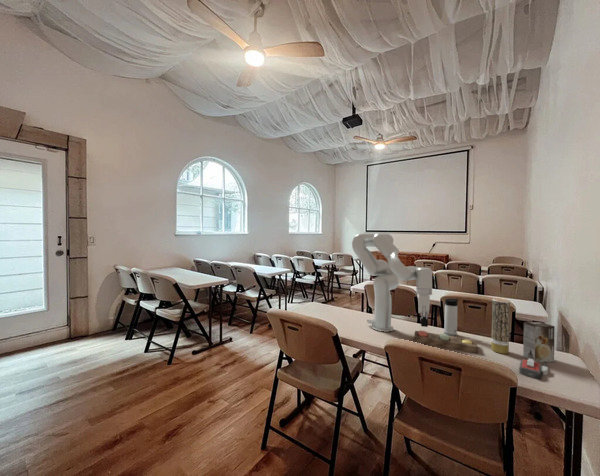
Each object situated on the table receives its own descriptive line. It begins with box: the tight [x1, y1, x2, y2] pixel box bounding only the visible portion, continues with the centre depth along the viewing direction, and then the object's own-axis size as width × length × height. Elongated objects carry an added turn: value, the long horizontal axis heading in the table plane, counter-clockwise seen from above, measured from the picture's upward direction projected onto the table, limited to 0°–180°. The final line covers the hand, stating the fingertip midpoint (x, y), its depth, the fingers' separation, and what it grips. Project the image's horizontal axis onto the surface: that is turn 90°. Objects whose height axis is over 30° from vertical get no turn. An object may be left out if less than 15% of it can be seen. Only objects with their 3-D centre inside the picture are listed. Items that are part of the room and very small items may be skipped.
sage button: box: [439, 333, 449, 341], centre depth 140 cm, size 4×4×3 cm
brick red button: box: [417, 330, 428, 337], centre depth 145 cm, size 4×4×3 cm
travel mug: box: [443, 298, 459, 337], centre depth 155 cm, size 6×7×20 cm
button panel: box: [413, 330, 479, 354], centre depth 140 cm, size 28×10×3 cm, turn 64°
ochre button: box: [462, 340, 472, 344], centre depth 136 cm, size 4×4×3 cm
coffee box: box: [522, 321, 556, 363], centre depth 125 cm, size 9×6×16 cm
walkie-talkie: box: [518, 358, 549, 380], centre depth 115 cm, size 9×4×20 cm
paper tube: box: [490, 297, 511, 355], centre depth 132 cm, size 7×7×25 cm
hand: (424, 326), depth 144 cm, fingers closed
